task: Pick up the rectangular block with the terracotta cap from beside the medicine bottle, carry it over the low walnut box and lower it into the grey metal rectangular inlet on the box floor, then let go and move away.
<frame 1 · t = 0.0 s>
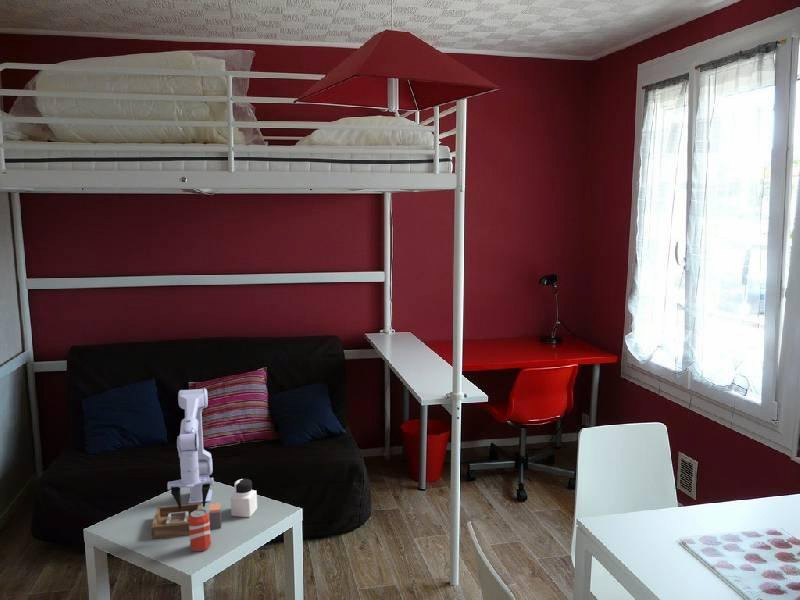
hand: (192, 506, 223), 10 cm above the table, tool pointing down, fingers open, 7 cm apart
rectangular block: (216, 525, 231), on the table
medicine bottle: (244, 512, 240), on the table
beverage can: (200, 548, 216), on the table
walled box: (177, 525, 231), on the table
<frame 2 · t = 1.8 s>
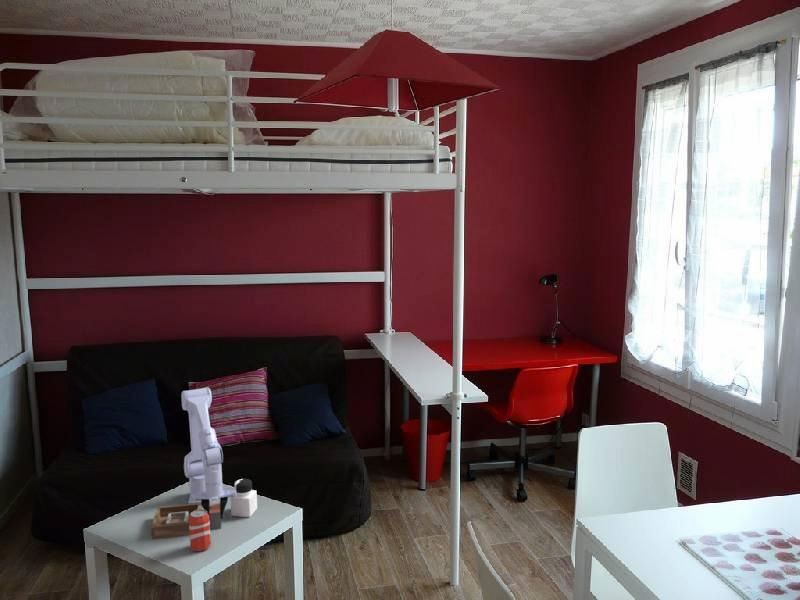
hand: (215, 518, 230), 3 cm above the table, tool pointing down, fingers closed on rectangular block, 3 cm apart
rectangular block: (216, 525, 231), on the table, touching gripper
everything else where it was.
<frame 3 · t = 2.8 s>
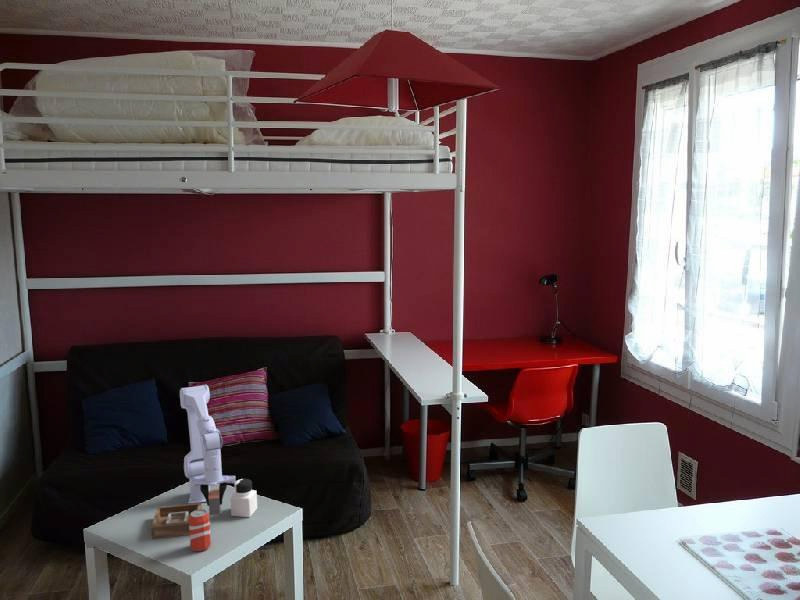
hand: (214, 504, 229), 8 cm above the table, tool pointing down, fingers closed on rectangular block, 3 cm apart
rectangular block: (215, 511, 230), point 5 cm above the table, touching gripper
everything else where it was.
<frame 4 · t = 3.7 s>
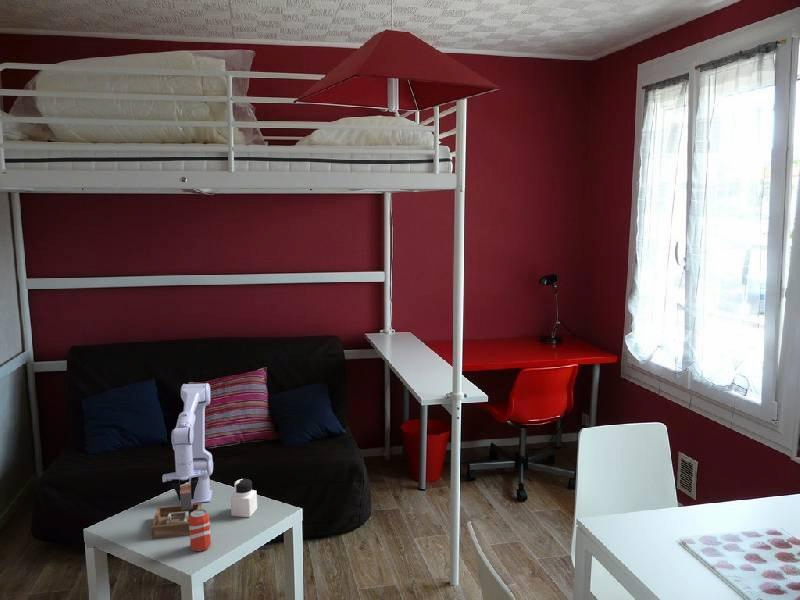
hand: (186, 498, 229), 10 cm above the table, tool pointing down, fingers closed on rectangular block, 3 cm apart
rectangular block: (187, 506, 230), point 7 cm above the table, touching gripper
everything else where it was.
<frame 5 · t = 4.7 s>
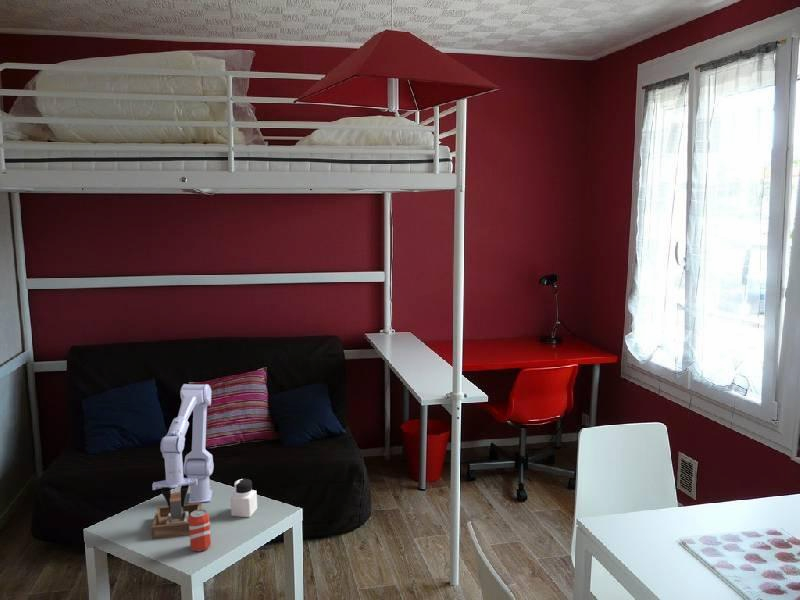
hand: (176, 506, 230), 7 cm above the table, tool pointing down, fingers closed on rectangular block, 3 cm apart
rectangular block: (177, 514, 230), point 4 cm above the table, touching gripper
everything else where it was.
when the fingers open (5 cm above the table, at t = 5.6 s): rectangular block stays where it is, resting on walled box.
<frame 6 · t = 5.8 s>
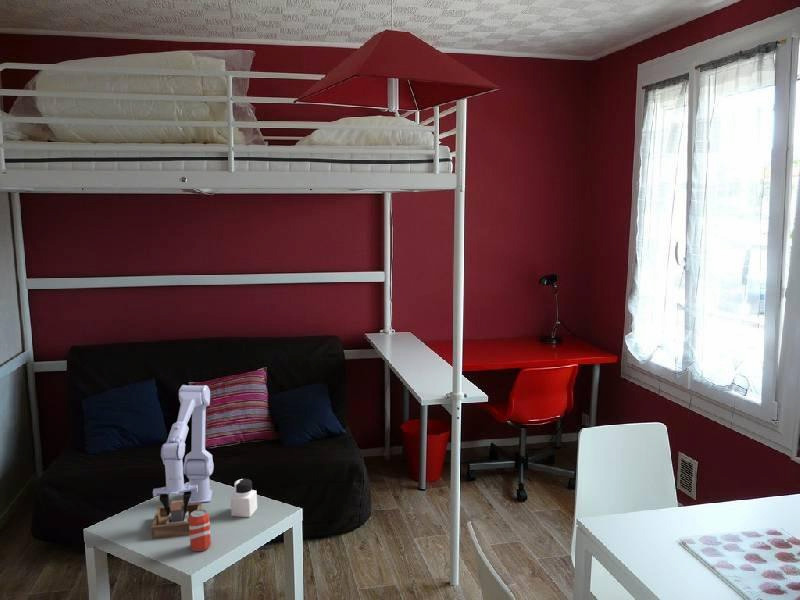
hand: (177, 513, 230), 5 cm above the table, tool pointing down, fingers open, 5 cm apart
rectangular block: (177, 522, 231), point 1 cm above the table, touching walled box
everything else where it was.
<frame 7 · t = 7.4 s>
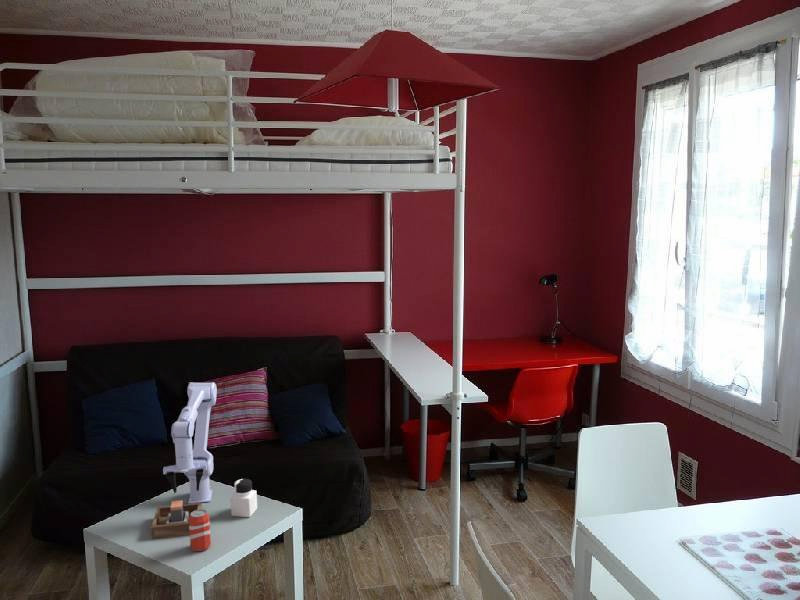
hand: (186, 490, 236), 10 cm above the table, tool pointing down, fingers open, 7 cm apart
nothing on the table moved.
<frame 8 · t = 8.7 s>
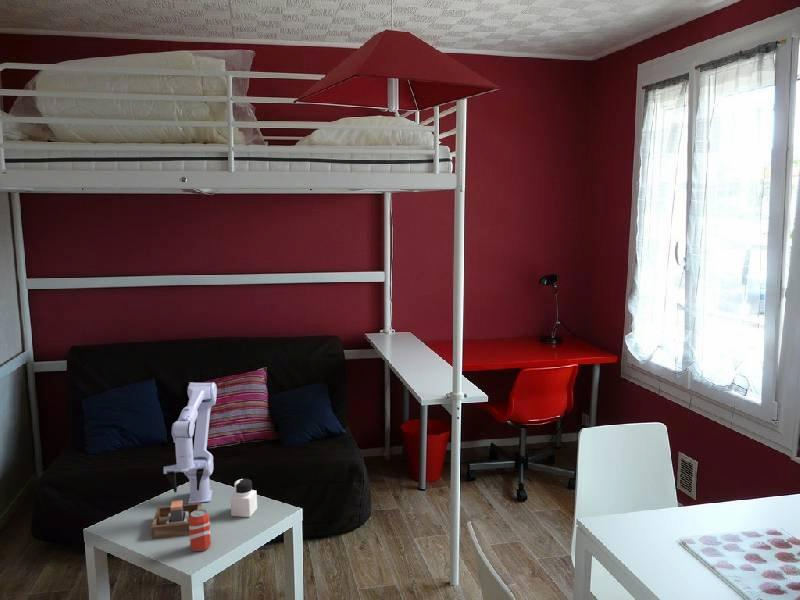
hand: (186, 490, 236), 10 cm above the table, tool pointing down, fingers open, 7 cm apart
nothing on the table moved.
at the end: rectangular block 0.0 cm off-centre on the walled box, point 1.0 cm above the walled box's base; rectangular block tilted 0°; the gripper is holding nothing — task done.
